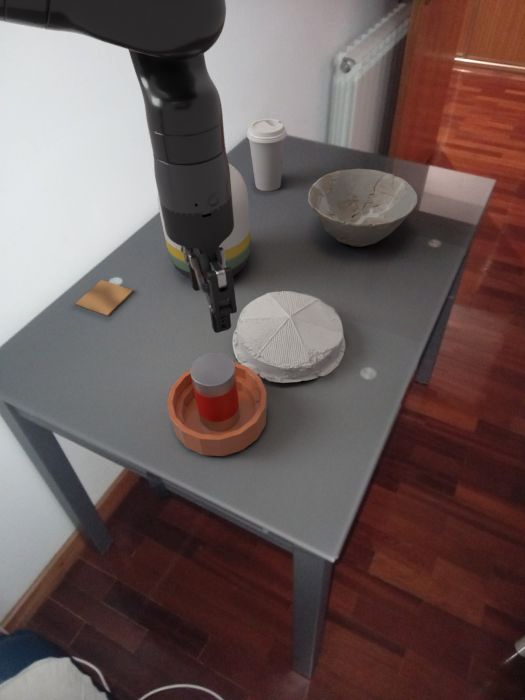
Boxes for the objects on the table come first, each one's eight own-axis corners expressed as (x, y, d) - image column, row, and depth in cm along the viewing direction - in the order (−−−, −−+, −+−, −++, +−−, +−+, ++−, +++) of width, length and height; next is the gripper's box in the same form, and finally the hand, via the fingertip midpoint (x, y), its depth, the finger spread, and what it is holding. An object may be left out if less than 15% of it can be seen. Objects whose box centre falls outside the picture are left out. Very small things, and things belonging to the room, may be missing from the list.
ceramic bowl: (411, 213, 115) (420, 173, 107) (403, 273, 100) (412, 231, 92) (318, 202, 119) (320, 162, 112) (296, 257, 104) (297, 216, 97)
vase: (264, 250, 106) (260, 140, 89) (231, 299, 96) (220, 185, 78) (195, 235, 111) (178, 128, 93) (156, 280, 100) (130, 168, 83)
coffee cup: (288, 193, 122) (289, 132, 112) (250, 195, 122) (247, 135, 111) (284, 174, 129) (284, 116, 118) (248, 177, 129) (245, 118, 118)
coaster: (108, 316, 93) (107, 314, 93) (75, 304, 96) (75, 303, 96) (133, 291, 98) (133, 290, 98) (102, 281, 101) (101, 279, 100)
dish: (238, 473, 70) (236, 454, 66) (154, 435, 75) (148, 416, 71) (282, 399, 79) (282, 379, 75) (204, 369, 83) (200, 349, 80)
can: (227, 437, 73) (220, 392, 65) (191, 422, 75) (181, 376, 67) (247, 406, 77) (242, 360, 69) (212, 393, 79) (204, 346, 71)
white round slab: (273, 292, 97) (272, 264, 92) (364, 331, 88) (369, 303, 83) (209, 355, 86) (204, 327, 81) (306, 406, 78) (307, 378, 73)
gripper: (144, 168, 54) (168, 283, 66) (178, 235, 45) (199, 354, 57) (208, 155, 56) (221, 269, 68) (254, 217, 47) (259, 335, 59)
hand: (211, 307), depth 63 cm, fingers open, 8 cm apart
